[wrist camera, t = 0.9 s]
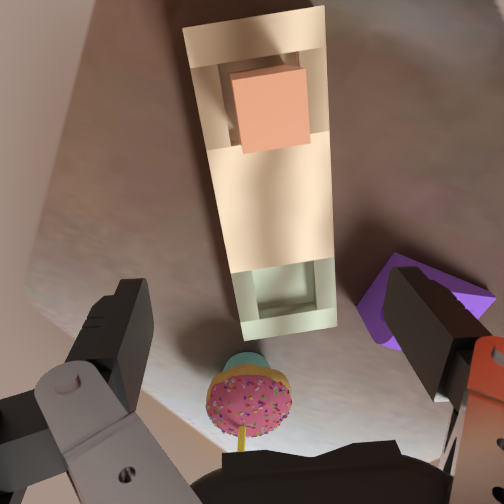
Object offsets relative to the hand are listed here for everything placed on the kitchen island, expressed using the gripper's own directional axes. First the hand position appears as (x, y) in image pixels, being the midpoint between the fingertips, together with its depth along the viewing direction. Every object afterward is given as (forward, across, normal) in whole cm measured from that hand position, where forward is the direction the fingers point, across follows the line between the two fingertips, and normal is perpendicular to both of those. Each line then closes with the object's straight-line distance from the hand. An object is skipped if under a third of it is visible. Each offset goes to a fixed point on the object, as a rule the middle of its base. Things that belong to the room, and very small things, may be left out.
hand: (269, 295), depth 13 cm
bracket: (+21, -18, +16) cm, 32 cm away
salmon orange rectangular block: (+19, -2, -4) cm, 19 cm away
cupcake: (+20, 0, +23) cm, 31 cm away
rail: (+20, -2, +4) cm, 21 cm away
